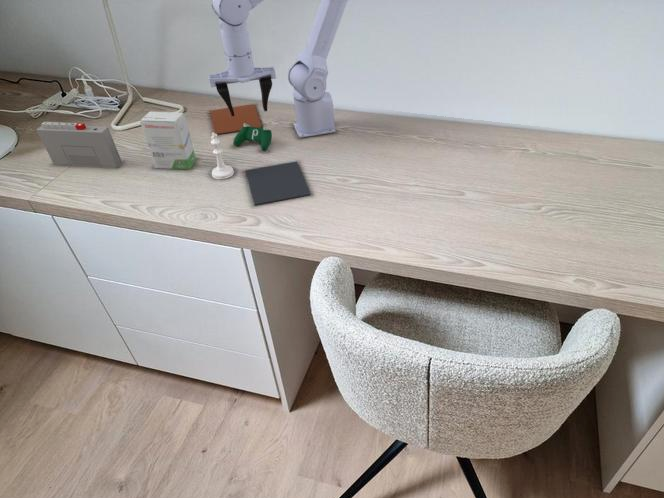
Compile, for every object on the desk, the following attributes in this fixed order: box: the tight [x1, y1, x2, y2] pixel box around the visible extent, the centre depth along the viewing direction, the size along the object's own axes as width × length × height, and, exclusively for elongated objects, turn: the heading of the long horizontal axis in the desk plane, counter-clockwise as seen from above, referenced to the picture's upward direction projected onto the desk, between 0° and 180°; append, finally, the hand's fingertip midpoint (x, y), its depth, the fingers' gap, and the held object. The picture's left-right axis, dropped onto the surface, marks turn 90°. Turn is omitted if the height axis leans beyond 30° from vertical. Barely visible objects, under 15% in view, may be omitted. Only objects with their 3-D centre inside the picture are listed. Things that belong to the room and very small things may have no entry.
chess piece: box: [210, 132, 235, 180], centre depth 109 cm, size 5×5×10 cm
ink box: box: [139, 110, 197, 170], centre depth 112 cm, size 9×5×12 cm, turn 84°
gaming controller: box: [232, 123, 273, 152], centre depth 121 cm, size 9×4×6 cm
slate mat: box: [244, 161, 312, 207], centre depth 109 cm, size 12×14×1 cm
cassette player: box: [36, 121, 123, 169], centre depth 113 cm, size 16×3×10 cm, turn 83°
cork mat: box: [209, 103, 263, 136], centre depth 131 cm, size 12×14×1 cm
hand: (249, 111), depth 116 cm, fingers open, 7 cm apart
